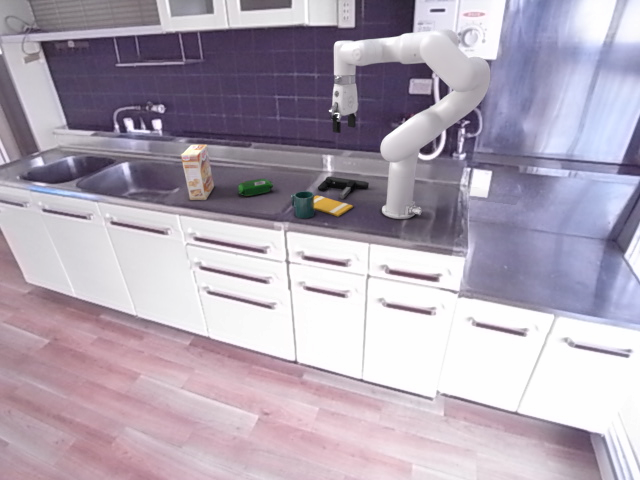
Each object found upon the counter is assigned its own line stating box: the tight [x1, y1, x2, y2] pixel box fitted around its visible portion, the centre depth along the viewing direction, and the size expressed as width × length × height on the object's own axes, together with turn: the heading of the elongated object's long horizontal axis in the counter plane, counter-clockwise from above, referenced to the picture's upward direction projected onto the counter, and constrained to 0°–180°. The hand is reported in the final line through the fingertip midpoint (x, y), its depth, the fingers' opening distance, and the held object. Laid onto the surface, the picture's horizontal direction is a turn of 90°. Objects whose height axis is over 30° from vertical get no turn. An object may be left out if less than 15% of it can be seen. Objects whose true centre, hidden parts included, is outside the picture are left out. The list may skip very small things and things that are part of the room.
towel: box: [314, 195, 354, 217], centre depth 149 cm, size 18×10×1 cm, turn 52°
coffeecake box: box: [180, 144, 215, 201], centre depth 159 cm, size 15×7×20 cm, turn 0°
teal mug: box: [291, 190, 315, 219], centre depth 142 cm, size 10×7×8 cm
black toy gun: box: [317, 176, 370, 200], centre depth 162 cm, size 3×20×16 cm
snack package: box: [237, 178, 274, 197], centre depth 161 cm, size 7×16×5 cm, turn 112°
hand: (344, 129), depth 140 cm, fingers open, 9 cm apart
